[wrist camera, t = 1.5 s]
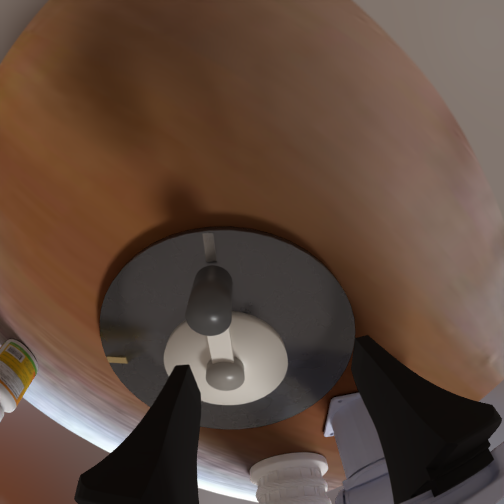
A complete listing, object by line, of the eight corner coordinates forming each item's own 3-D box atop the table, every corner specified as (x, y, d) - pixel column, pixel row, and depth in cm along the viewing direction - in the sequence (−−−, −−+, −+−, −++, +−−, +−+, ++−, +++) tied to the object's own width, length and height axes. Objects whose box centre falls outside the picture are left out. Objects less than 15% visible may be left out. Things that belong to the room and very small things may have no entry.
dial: (285, 392, 25) (292, 431, 21) (180, 398, 25) (173, 435, 20) (285, 257, 20) (298, 290, 15) (142, 267, 19) (120, 301, 15)
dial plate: (363, 216, 20) (369, 221, 19) (335, 410, 28) (338, 417, 27) (73, 240, 20) (66, 245, 19) (144, 420, 28) (142, 427, 27)
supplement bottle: (20, 371, 25) (-13, 423, 16) (-1, 337, 23) (-41, 387, 14) (46, 374, 25) (13, 433, 16) (24, 338, 23) (-19, 396, 14)
